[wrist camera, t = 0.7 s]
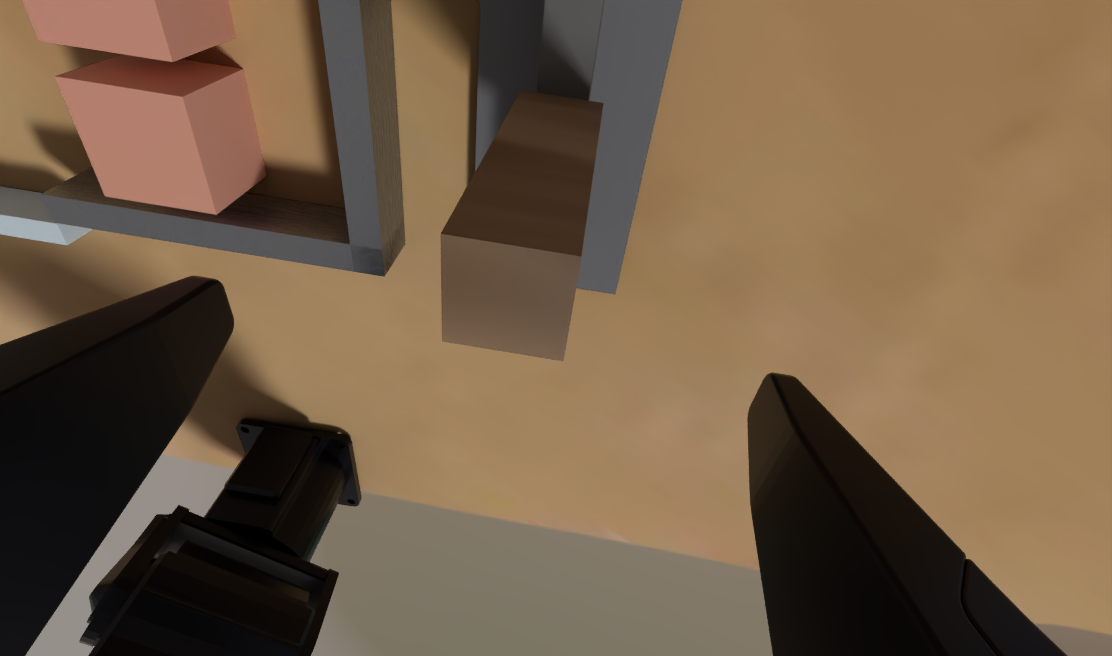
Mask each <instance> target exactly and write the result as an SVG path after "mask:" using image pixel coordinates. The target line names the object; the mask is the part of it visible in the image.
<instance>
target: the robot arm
mask: <svg viewBox="0 0 1112 656" xmlns="http://www.w3.org/2000/svg"><path fill="white" fill-rule="evenodd" d="M233 328H234V317H233V314H232V311H231V308H230V305H229V302H228V298H227V295H226V292H225V289H224V286H223V285H222V283H221V282H220V281H218V280H216V279H212V278H206V277H200V276H190V277H187V278H184V279H181V280H178V281H176V282H173V283H170V284H167V285H164V286H162V287H159V288H156V289H153V290H151V291H148V292H145V293H142V294H140V295H137V296H134V297H131V298H128V299H126V300H123V301H120V302H117V303H115V304H112V305H109V306H106V307H104V308H101V309H98V310H95V311H93V312H90V313H87V314H84V315H81V316H79V317H76V318H73V319H70V320H68V321H65V322H62V323H59V324H57V325H54V326H51V327H48V328H46V329H43V330H40V331H37V332H34V333H32V334H29V335H26V336H23V337H21V338H18V339H15V340H12V341H10V342H7V343H4V344H1V345H0V656H25V655H26V654H27V652H28V651H29V649H30V648H31V646H32V645H33V643H34V642H35V640H36V639H37V637H38V636H39V634H40V633H41V631H42V630H43V628H44V627H45V625H46V624H47V623H48V621H49V619H50V618H51V616H52V615H53V614H54V612H55V611H56V609H57V608H58V606H59V605H60V603H61V602H62V600H63V599H64V597H65V596H66V594H67V593H68V591H69V590H70V588H71V587H72V586H73V584H74V582H75V581H76V580H77V578H78V577H79V575H80V574H81V572H82V571H83V569H84V568H85V566H86V565H87V563H88V562H89V560H90V559H91V557H92V556H93V554H94V553H95V551H96V550H97V548H98V547H99V546H100V544H101V543H102V541H103V540H104V538H105V537H106V535H107V534H108V532H109V531H110V529H111V528H112V526H113V525H114V523H115V522H116V520H117V519H118V518H119V516H120V515H121V513H122V512H123V510H124V509H125V507H126V506H127V504H128V502H129V501H130V500H131V498H132V497H133V495H134V494H135V492H136V491H137V490H138V488H139V486H140V485H141V484H142V482H143V481H144V479H145V478H146V476H147V475H148V473H149V472H150V470H151V469H152V467H153V466H154V464H155V463H156V461H157V460H158V458H159V457H160V456H161V454H162V453H163V451H164V450H165V448H166V447H167V445H168V444H169V442H170V441H171V439H172V438H173V436H174V435H175V433H176V432H177V430H178V429H179V427H180V426H181V425H182V423H183V422H184V420H185V418H186V417H187V415H188V414H189V412H190V411H191V409H192V407H193V406H194V404H195V402H196V400H197V399H198V397H199V395H200V393H201V391H202V389H203V387H204V386H205V384H206V382H207V380H208V378H209V376H210V374H211V372H212V370H213V368H214V366H215V365H216V363H217V361H218V359H219V357H220V355H221V353H222V351H223V349H224V347H225V345H226V344H227V342H228V340H229V338H230V336H231V334H232V331H233ZM236 429H237V432H238V434H239V437H240V440H241V442H242V445H243V448H244V451H245V453H246V454H245V456H244V457H243V458H242V460H241V461H240V463H239V464H238V466H237V467H236V469H235V470H234V472H233V473H232V475H231V476H230V478H229V479H228V480H227V482H226V483H225V487H224V489H223V490H222V491H221V493H220V494H219V496H218V497H217V499H216V500H215V502H214V503H213V505H212V506H211V508H210V509H209V510H208V512H207V513H206V515H205V516H204V517H201V516H199V515H196V514H194V513H192V512H189V509H188V508H185V507H183V506H180V505H178V507H177V508H176V509H175V510H174V512H173V513H172V514H169V515H162V514H159V515H158V514H157V515H156V516H155V518H154V519H153V520H152V521H151V523H150V524H149V525H148V527H147V528H146V529H145V531H144V532H143V533H142V534H141V536H140V537H139V538H138V540H137V541H136V542H135V544H134V545H133V546H132V547H131V548H130V549H129V550H128V551H127V553H126V554H125V555H124V556H123V557H122V558H121V559H120V560H119V561H118V563H117V564H116V565H115V566H114V567H113V568H112V569H111V570H110V572H109V573H108V574H107V575H106V576H105V577H104V578H103V579H102V580H101V582H100V583H99V584H98V585H97V586H96V587H95V589H94V590H93V592H92V593H91V595H90V596H89V600H90V605H91V610H92V614H91V615H90V617H89V619H88V621H87V623H90V624H89V625H88V627H87V628H86V630H85V632H84V634H83V635H82V637H81V639H80V642H81V643H84V644H87V645H90V646H95V647H94V648H93V650H92V651H91V653H90V654H89V656H311V654H312V652H313V649H314V647H315V644H316V641H317V638H318V635H319V632H320V629H321V626H322V623H323V620H324V617H325V614H326V611H327V608H328V605H329V602H330V599H331V596H332V593H333V590H334V587H335V584H336V580H337V578H338V575H339V573H338V572H336V571H334V570H332V569H329V570H327V569H324V568H322V567H320V566H317V565H315V564H313V563H310V560H311V558H312V556H313V554H314V552H315V550H316V548H317V545H318V544H319V541H320V539H321V537H322V535H323V533H324V531H325V529H326V527H327V525H328V523H329V521H330V518H331V517H332V514H333V512H334V510H335V508H336V506H337V504H342V505H348V506H358V505H359V503H360V501H361V492H360V486H359V480H358V474H357V469H356V463H355V457H354V451H353V446H352V441H351V439H350V438H349V437H347V436H345V435H341V434H335V433H329V432H323V431H317V430H311V429H305V428H299V427H293V426H287V425H281V424H275V423H269V422H263V421H257V420H251V419H241V421H240V422H239V423H238V425H237V426H236ZM748 454H749V488H750V505H751V513H752V521H753V527H754V534H755V540H756V547H757V554H758V560H759V567H760V573H761V580H762V586H763V593H764V600H765V606H766V613H767V619H768V625H769V633H770V639H771V646H772V652H773V656H1067V655H1066V654H1065V653H1064V652H1063V651H1062V650H1061V649H1060V648H1059V647H1058V646H1057V645H1056V644H1055V643H1053V642H1052V641H1051V640H1050V639H1049V638H1048V637H1047V636H1046V635H1045V634H1044V633H1043V632H1042V631H1041V630H1039V628H1038V627H1037V626H1036V625H1035V624H1033V623H1032V622H1031V621H1030V620H1029V619H1028V618H1027V617H1026V616H1025V615H1024V614H1023V613H1022V612H1021V611H1020V610H1019V609H1018V608H1017V606H1016V605H1015V604H1014V603H1013V602H1012V601H1011V600H1010V599H1009V598H1008V597H1007V596H1006V595H1005V594H1004V593H1003V592H1002V591H1001V590H1000V589H999V588H998V587H997V586H996V585H995V584H994V583H993V582H992V581H991V580H990V579H989V578H988V577H987V576H986V575H985V574H984V573H983V572H982V571H981V570H980V569H979V568H978V567H977V566H976V564H975V563H974V562H973V561H972V560H970V559H966V555H965V553H964V552H963V551H962V550H961V549H960V548H959V547H958V546H957V545H956V544H955V543H954V542H953V541H952V540H951V539H950V538H949V537H948V536H947V534H946V533H945V532H944V531H943V530H942V529H941V528H940V527H939V526H938V525H937V524H936V523H935V522H934V521H933V520H932V519H931V518H930V517H929V516H928V515H927V514H926V513H925V512H924V510H923V509H922V508H921V507H920V506H919V505H918V504H917V503H916V502H915V501H914V500H913V499H912V498H911V497H910V496H909V495H908V494H907V493H906V492H905V491H904V490H903V489H902V487H901V486H900V485H899V484H898V483H897V482H896V481H895V480H894V479H893V478H892V477H891V476H890V475H889V474H888V473H887V472H886V471H885V470H884V469H883V468H882V467H881V466H880V465H879V463H878V462H877V461H876V460H875V459H874V458H873V457H872V456H871V455H870V454H869V453H868V452H867V451H866V450H865V449H864V448H863V447H862V446H861V445H860V444H859V443H858V442H857V441H856V439H855V438H854V437H853V436H852V435H851V434H850V433H849V432H848V431H847V430H846V429H845V428H844V427H843V426H842V425H841V424H840V423H839V422H838V421H837V420H836V419H835V418H834V417H833V415H832V414H831V413H830V412H829V411H828V410H827V409H826V408H825V407H824V406H823V405H822V404H821V403H820V402H819V401H818V400H817V399H816V398H815V397H814V396H813V395H812V394H811V393H810V391H809V390H808V389H807V388H806V387H805V386H804V385H803V384H802V383H801V382H800V381H799V380H798V379H797V378H796V377H794V376H791V375H785V374H779V373H769V374H767V375H766V376H765V378H764V379H763V381H762V383H761V385H760V387H759V389H758V391H757V393H756V395H755V397H754V399H753V401H752V403H751V405H750V408H749V412H748Z"/></svg>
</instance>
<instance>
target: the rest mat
mask: <svg viewBox="0 0 1112 656" xmlns="http://www.w3.org/2000/svg"><path fill="white" fill-rule="evenodd" d="M681 5H682V0H605V3H604V9H603V16H602V23H601V29H600V36H599V42H598V49H597V55H596V62H595V69H594V75H593V82H592V88H591V95H590V101H594V102H600V103H604V104H603V111H602V118H601V124H600V131H599V138H598V145H597V152H596V159H595V166H594V173H593V180H592V187H591V194H590V201H589V208H588V215H587V221H586V228H585V235H584V242H583V249H582V256H581V262H580V268H579V274H578V279H577V285H576V288H579V289H585V290H592V291H598V292H604V293H610V294H615V293H616V288H617V284H618V280H619V275H620V271H621V267H622V262H623V258H624V253H625V249H626V245H627V240H628V236H629V232H630V227H631V223H632V219H633V214H634V210H635V205H636V201H637V197H638V192H639V188H640V184H641V179H642V175H643V170H644V166H645V162H646V157H647V153H648V149H649V144H650V140H651V136H652V131H653V127H654V122H655V118H656V114H657V109H658V105H659V101H660V96H661V92H662V88H663V83H664V79H665V74H666V70H667V66H668V61H669V57H670V53H671V48H672V44H673V39H674V35H675V31H676V26H677V22H678V18H679V13H680V9H681ZM544 7H545V0H480V19H479V54H478V89H477V123H476V158H475V172H476V170H477V168H478V166H479V164H480V163H481V161H482V159H483V157H484V155H485V154H486V152H487V150H488V148H489V146H490V145H491V143H492V141H493V139H494V138H495V136H496V134H497V132H498V130H499V129H500V127H501V125H502V123H503V121H504V120H505V118H506V116H507V114H508V112H509V111H510V109H511V107H512V105H513V103H514V102H515V100H516V98H517V96H518V95H519V93H520V91H521V90H525V91H531V92H537V82H538V71H539V60H540V50H541V39H542V28H543V17H544Z"/></svg>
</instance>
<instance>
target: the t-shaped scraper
mask: <svg viewBox="0 0 1112 656" xmlns="http://www.w3.org/2000/svg"><path fill="white" fill-rule="evenodd" d="M604 3H605V0H545V7H544V17H543V28H542V39H541V50H540V60H539V71H538V82H537V92H531V91H525V90H521V91H520V93H519V95H518V96H517V98H516V100H515V102H514V103H513V105H512V107H511V109H510V111H509V112H508V114H507V116H506V118H505V120H504V121H503V123H502V125H501V127H500V129H499V130H498V132H497V134H496V136H495V138H494V139H493V141H492V143H491V145H490V146H489V148H488V150H487V152H486V154H485V155H484V157H483V159H482V161H481V163H480V164H479V166H478V168H477V170H476V172H475V173H474V175H473V177H472V179H471V181H470V182H469V184H468V186H467V188H466V189H465V191H464V193H463V195H462V197H461V198H460V200H459V202H458V204H457V206H456V207H455V209H454V211H453V213H452V215H451V216H450V218H449V220H448V222H447V224H446V225H445V227H444V229H443V231H442V232H441V291H442V341H443V342H449V343H455V344H462V345H468V346H474V347H480V348H486V349H492V350H498V351H504V352H510V353H516V354H522V355H529V356H535V357H541V358H547V359H553V360H559V361H563V360H564V354H565V349H566V343H567V337H568V331H569V326H570V320H571V314H572V308H573V302H574V297H575V291H576V285H577V279H578V274H579V268H580V262H581V256H582V249H583V242H584V235H585V228H586V221H587V215H588V208H589V201H590V194H591V187H592V180H593V173H594V166H595V159H596V152H597V145H598V138H599V131H600V124H601V118H602V111H603V104H604V103H600V102H594V101H590V95H591V88H592V82H593V75H594V69H595V62H596V55H597V49H598V42H599V36H600V29H601V23H602V16H603V9H604Z"/></svg>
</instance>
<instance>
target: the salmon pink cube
mask: <svg viewBox="0 0 1112 656" xmlns="http://www.w3.org/2000/svg"><path fill="white" fill-rule="evenodd" d="M55 78H56V81H57V83H58V86H59V88H60V90H61V93H62V95H63V98H64V100H65V102H66V105H67V107H68V109H69V112H70V114H71V117H72V119H73V121H74V124H75V126H76V128H77V131H78V133H79V136H80V138H81V140H82V143H83V145H84V148H85V150H86V152H87V155H88V157H89V159H90V162H91V164H92V167H93V169H94V171H95V174H96V176H97V178H98V181H99V183H100V186H101V188H102V190H103V193H104V195H105V196H106V197H112V198H118V199H124V200H130V201H136V202H142V203H148V204H154V205H160V206H167V207H173V208H179V209H185V210H191V211H197V212H203V213H209V214H215V215H217V214H218V213H219V212H221V211H222V210H223V209H225V208H226V207H227V206H228V205H230V204H231V203H232V202H234V201H235V200H236V199H237V198H239V197H240V196H241V195H243V194H244V193H245V192H246V191H248V190H249V189H250V188H252V187H253V186H254V185H255V184H257V183H258V182H259V181H261V180H262V179H263V178H264V177H266V176H267V174H266V170H265V165H264V161H263V156H262V151H261V147H260V142H259V138H258V133H257V129H256V124H255V119H254V115H253V110H252V106H251V101H250V97H249V92H248V88H247V83H246V78H245V74H244V69H241V68H234V67H228V66H222V65H216V64H209V63H203V62H197V61H191V60H184V59H179V60H177V61H174V62H169V61H162V60H156V59H150V58H143V57H137V56H131V55H124V54H122V55H119V56H116V57H113V58H110V59H107V60H103V61H100V62H97V63H94V64H91V65H88V66H85V67H82V68H79V69H76V70H72V71H69V72H66V73H63V74H60V75H57V76H55Z"/></svg>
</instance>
